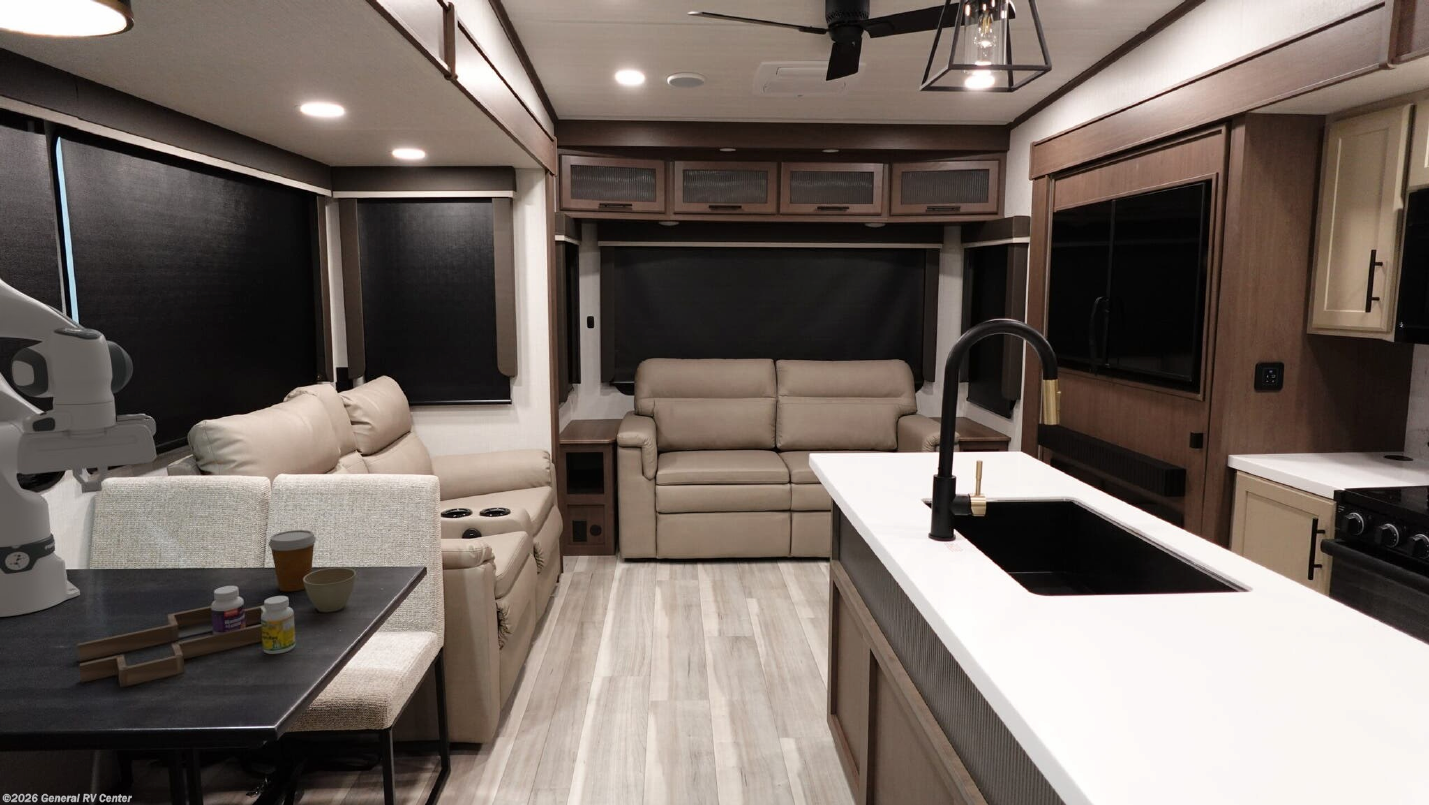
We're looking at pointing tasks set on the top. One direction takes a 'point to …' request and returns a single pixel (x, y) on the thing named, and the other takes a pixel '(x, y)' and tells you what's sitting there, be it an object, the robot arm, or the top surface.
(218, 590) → the pill bottle
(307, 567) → the disposable coffee cup
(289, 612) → the supplement bottle
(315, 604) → the flower pot
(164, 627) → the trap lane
